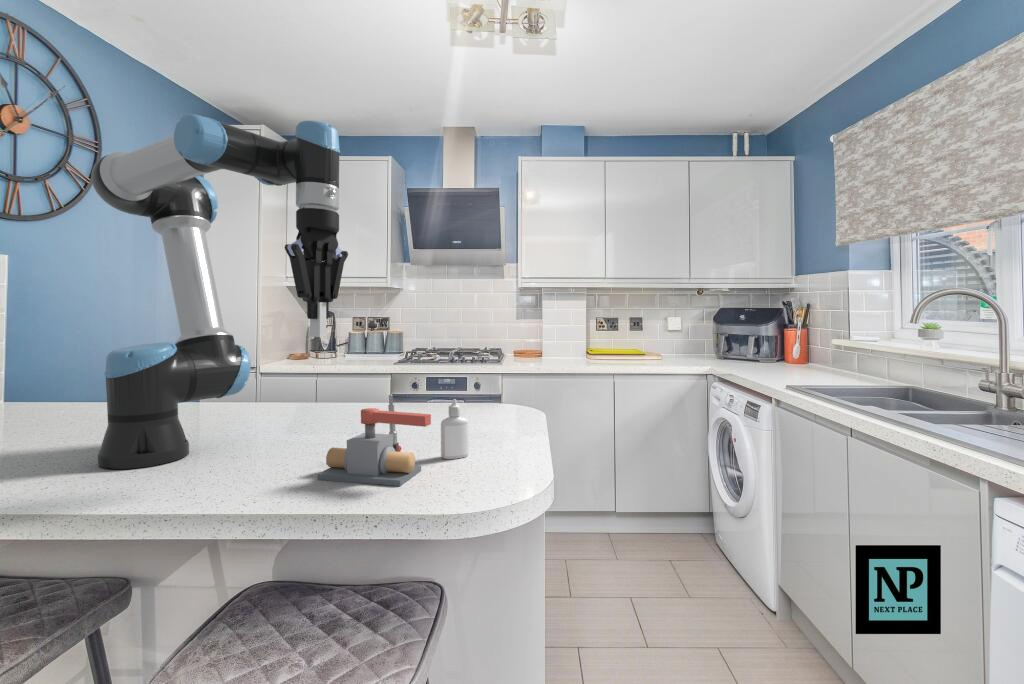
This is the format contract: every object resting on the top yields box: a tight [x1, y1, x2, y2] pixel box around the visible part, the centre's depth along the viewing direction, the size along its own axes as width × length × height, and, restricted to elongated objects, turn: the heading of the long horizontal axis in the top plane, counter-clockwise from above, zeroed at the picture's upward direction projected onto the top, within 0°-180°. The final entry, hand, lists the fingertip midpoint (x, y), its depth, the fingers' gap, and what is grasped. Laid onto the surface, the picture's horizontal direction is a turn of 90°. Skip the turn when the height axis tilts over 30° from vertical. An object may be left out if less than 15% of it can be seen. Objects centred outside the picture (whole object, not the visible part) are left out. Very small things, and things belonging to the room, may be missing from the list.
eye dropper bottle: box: [440, 399, 470, 460], centre depth 106 cm, size 4×6×12 cm
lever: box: [360, 407, 432, 427], centre depth 92 cm, size 14×3×2 cm, turn 70°
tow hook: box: [387, 394, 402, 452], centre depth 107 cm, size 8×13×9 cm
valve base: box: [317, 423, 422, 487], centre depth 94 cm, size 16×9×10 cm, turn 77°
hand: (318, 336), depth 97 cm, fingers closed
